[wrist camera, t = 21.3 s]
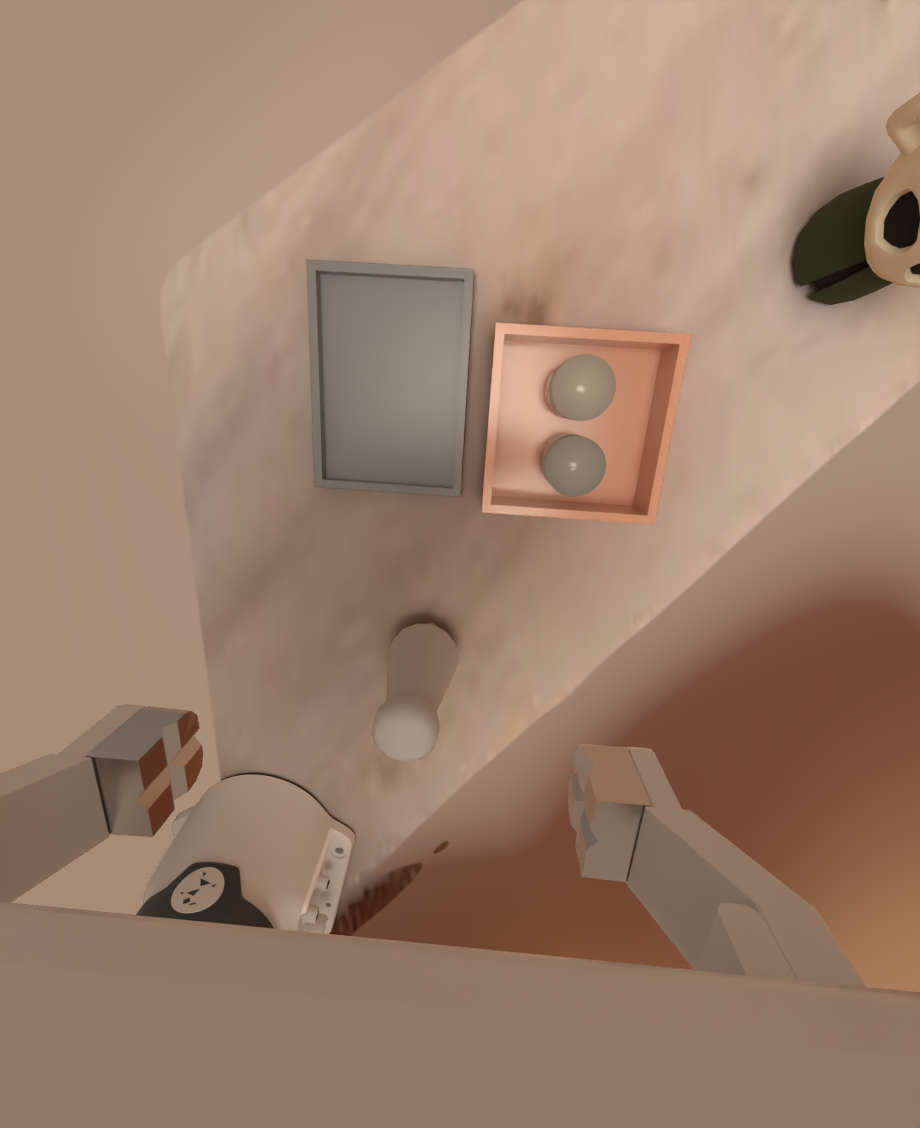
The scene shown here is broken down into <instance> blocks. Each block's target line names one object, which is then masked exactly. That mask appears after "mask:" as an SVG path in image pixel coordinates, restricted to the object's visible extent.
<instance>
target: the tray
mask: <svg viewBox="0 0 920 1128" xmlns="http://www.w3.org/2000/svg"><path fill="white" fill-rule="evenodd" d="M306 262H307V289H308V316H309V343H310V370H311V398H312V425H313V452H314V479H315V487H323V488H337V489H352V490H366V491H380V492H395V493H409V494H423V495H438V496H452V497H460V495H461V485H462V469H463V452H464V436H465V420H466V404H467V387H468V371H469V355H470V339H471V322H472V306H473V290H474V269H466V268H448V267H430V266H412V265H394V264H376V263H358V262H340V261H322V260H306Z"/></svg>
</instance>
